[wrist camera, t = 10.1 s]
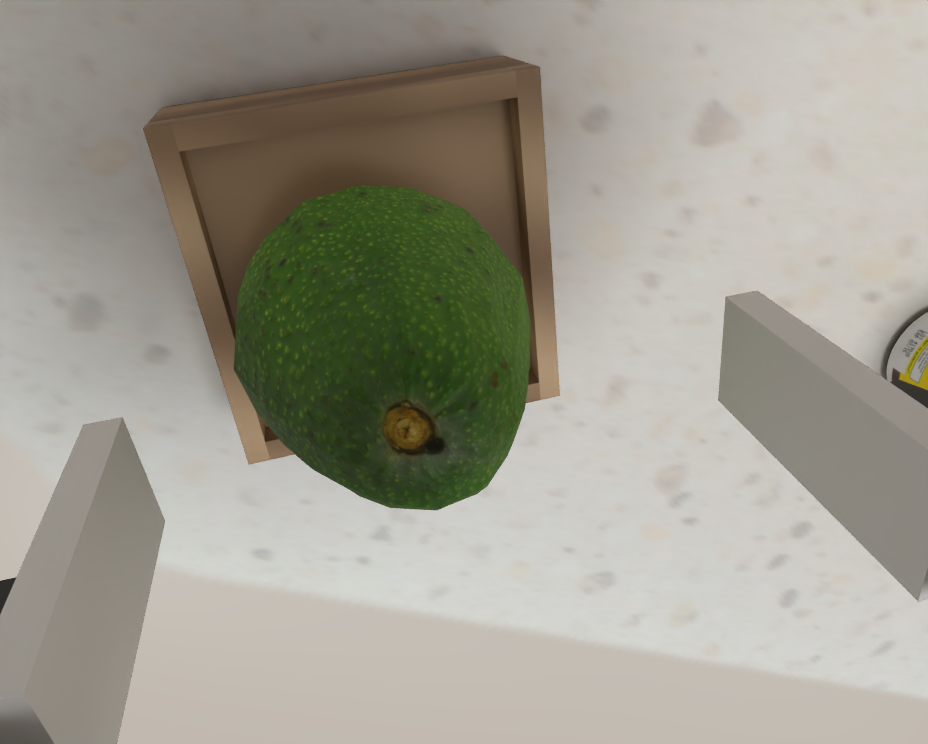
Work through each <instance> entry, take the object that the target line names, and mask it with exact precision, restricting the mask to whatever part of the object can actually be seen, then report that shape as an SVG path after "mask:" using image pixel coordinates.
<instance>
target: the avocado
mask: <svg viewBox="0 0 928 744" xmlns="http://www.w3.org/2000/svg"><path fill="white" fill-rule="evenodd" d="M530 326H531V321H530V316H529V310H528V305H527V300H526V294H525V289H524V284H523V278H522V276H521V275H520V273H519V272H518V271H517V269H516V268H515V267H514V266H513V264H512V263H511V262H510V260H509V259H508V258H507V257H506V255H505V254H504V253H503V251H502V250H501V249H500V248H499V246H498V245H497V244H496V242H495V241H494V240H493V239H492V237H491V236H490V235H489V234H488V232H487V231H486V230H485V229H484V228H483V226H482V225H481V224H480V223H479V222H478V220H477V219H475V218H474V217H473V216H472V215H471V214H470V213H469V212H468V211H467V210H465V209H464V208H462V207H459V206H457V205H455V204H453V203H451V202H448V201H446V200H443V199H440V198H437V197H435V196H432V195H429V194H426V193H424V192H421V191H418V190H416V189H413V188H402V187H386V186H371V185H357V186H354V187H350V188H347V189H344V190H340V191H337V192H333V193H330V194H327V195H323V196H320V197H316V198H313V199H310V200H306V201H303V202H302V203H301V204H300V205H299V206H298V207H297V208H296V209H294V210H293V211H292V212H291V213H290V214H289V215H288V216H287V217H286V218H285V219H284V220H283V221H282V222H281V223H280V224H279V225H278V226H277V227H276V228H274V229H273V230H272V231H271V232H270V233H269V234H268V235H267V236H266V238H265V239H264V241H263V242H262V243H261V245H260V246H259V248H258V249H257V251H256V252H255V254H254V256H253V257H252V259H251V261H250V262H249V264H248V267H247V270H246V273H245V276H244V279H243V282H242V285H241V288H240V291H239V294H238V302H237V320H236V338H235V356H234V371H235V373H236V375H237V377H238V378H239V380H240V382H241V384H242V386H243V388H244V390H245V392H246V393H247V395H248V397H249V399H250V401H251V403H252V405H253V407H254V408H255V410H256V412H257V413H258V414H259V415H260V417H261V418H262V419H263V420H264V421H265V423H266V424H267V425H268V426H269V428H270V429H271V430H272V431H273V432H274V434H275V435H276V436H277V437H278V438H279V440H280V441H281V442H282V443H283V444H284V445H285V446H286V447H287V448H288V449H289V450H291V451H292V452H293V453H294V454H295V455H296V456H298V457H299V458H300V459H301V460H302V461H304V462H305V463H306V464H307V465H308V466H310V467H311V468H312V469H313V470H315V471H317V472H319V473H320V474H322V475H324V476H326V477H328V478H329V479H331V480H333V481H335V482H337V483H338V484H340V485H342V486H344V487H346V488H348V489H349V490H351V491H352V492H354V493H356V494H357V495H359V496H361V497H363V498H366V499H368V500H371V501H374V502H376V503H379V504H382V505H384V506H387V507H390V508H404V509H422V510H439V509H441V508H443V507H445V506H448V505H450V504H453V503H455V502H458V501H460V500H463V499H465V498H468V497H470V496H473V495H475V494H477V493H479V492H480V491H481V490H483V489H484V488H485V487H487V486H488V484H489V483H490V481H491V480H492V478H493V477H494V475H495V474H496V472H497V471H498V469H499V468H500V466H501V465H502V463H503V461H504V460H505V458H506V457H507V455H508V453H509V450H510V448H511V446H512V444H513V441H514V438H515V435H516V432H517V430H518V427H519V424H520V421H521V418H522V415H523V412H524V409H525V403H526V397H527V391H528V376H529V357H530Z"/></svg>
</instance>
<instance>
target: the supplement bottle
mask: <svg viewBox="0 0 928 744" xmlns="http://www.w3.org/2000/svg"><path fill="white" fill-rule="evenodd" d="M895 380H902V381H904V382H907V383H910V384H912V385H915V386H918V387H920V388H923V389H926V390H928V312H927V313H925V314H924V315H922V316H921V317H919V318H918V319H917V320H915V321H914V322H913V323H912V324H911V325H910V326H909V327H908V328H907V329H906V330H905V331H904V332H903V333H902V335H901V336H900V337H899V339H898V340H897V342H896V344H895V345H894V347H893V349H892V352H891V354H890V357H889V360H888V364H887V381H889V382H891V381H895Z"/></svg>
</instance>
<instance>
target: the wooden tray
mask: <svg viewBox="0 0 928 744" xmlns="http://www.w3.org/2000/svg"><path fill="white" fill-rule="evenodd" d="M143 130H144V133H145V136H146V139H147V143H148V146H149V149H150V152H151V155H152V159H153V162H154V165H155V168H156V171H157V174H158V178H159V181H160V184H161V187H162V190H163V193H164V197H165V200H166V203H167V206H168V209H169V213H170V216H171V219H172V222H173V225H174V228H175V232H176V235H177V238H178V241H179V244H180V247H181V251H182V254H183V257H184V260H185V263H186V267H187V270H188V273H189V276H190V279H191V282H192V286H193V289H194V292H195V295H196V298H197V301H198V305H199V308H200V311H201V314H202V317H203V321H204V324H205V327H206V330H207V333H208V336H209V340H210V343H211V346H212V349H213V352H214V355H215V359H216V362H217V365H218V368H219V371H220V375H221V378H222V381H223V384H224V387H225V390H226V394H227V397H228V400H229V403H230V406H231V409H232V413H233V416H234V419H235V422H236V425H237V428H238V432H239V435H240V438H241V441H242V444H243V448H244V451H245V454H246V457H247V460H248V463H249V464H253V463H257V462H262V461H267V460H271V459H276V458H280V457H285V456H289V455H294V453H293V452H292V451H291V450H289V449H288V448H287V447H286V446H285V445H284V444H283V443H282V442H281V441H280V440H279V438H278V437H277V436H276V435H275V434H274V432H273V431H272V430H271V429H270V428H269V426H268V425H267V424H266V423H265V421H264V420H263V419H262V418H261V417H260V415H259V414H258V413H257V412H256V410H255V408H254V407H253V405H252V403H251V401H250V399H249V397H248V395H247V393H246V392H245V390H244V388H243V386H242V384H241V382H240V380H239V378H238V377H237V375H236V373H235V371H234V356H235V338H236V320H237V302H238V294H239V291H240V288H241V285H242V282H243V279H244V276H245V273H246V270H247V267H248V264H249V262H250V261H251V259H252V257H253V256H254V254H255V252H256V251H257V249H258V248H259V246H260V245H261V243H262V242H263V241H264V239H265V238H266V236H267V235H268V234H269V233H270V232H271V231H272V230H273V229H274V228H276V227H277V226H278V225H279V224H280V223H281V222H282V221H283V220H284V219H285V218H286V217H287V216H288V215H289V214H290V213H291V212H292V211H293V210H294V209H296V208H297V207H298V206H299V205H300V204H301V203H302V202H303V201H306V200H310V199H313V198H316V197H320V196H323V195H327V194H330V193H333V192H337V191H340V190H344V189H347V188H350V187H354V186H357V185H371V186H386V187H402V188H413V189H416V190H418V191H421V192H424V193H426V194H429V195H432V196H435V197H437V198H440V199H443V200H446V201H448V202H451V203H453V204H455V205H457V206H459V207H462V208H464V209H465V210H467V211H468V212H469V213H470V214H471V215H472V216H473V217H474V218H475V219H477V220H478V222H479V223H480V224H481V225H482V226H483V228H484V229H485V230H486V231H487V232H488V234H489V235H490V236H491V237H492V239H493V240H494V241H495V242H496V244H497V245H498V246H499V248H500V249H501V250H502V251H503V253H504V254H505V255H506V257H507V258H508V259H509V260H510V262H511V263H512V264H513V266H514V267H515V268H516V269H517V271H518V272H519V273H520V275H521V276H522V278H523V284H524V289H525V294H526V300H527V305H528V310H529V316H530V321H531V326H530V357H529V376H528V391H527V397H526V403H529V402H533V401H538V400H542V399H547V398H551V397H556V396H560V391H559V375H558V358H557V342H556V326H555V309H554V293H553V277H552V260H551V244H550V228H549V211H548V195H547V178H546V162H545V146H544V129H543V113H542V97H541V80H540V67H538V66H535V65H532V64H528V63H525V62H522V61H519V60H516V59H512V58H509V57H506V56H499V57H493V58H486V59H479V60H473V61H466V62H460V63H453V64H446V65H440V66H433V67H427V68H420V69H414V70H407V71H400V72H394V73H387V74H381V75H374V76H368V77H361V78H354V79H348V80H341V81H335V82H328V83H321V84H315V85H308V86H302V87H295V88H289V89H282V90H275V91H269V92H262V93H256V94H249V95H243V96H236V97H229V98H223V99H216V100H210V101H203V102H196V103H190V104H183V105H177V106H170V107H164V108H161V109H160V110H159V112H158V113H157V114H156V115H155V116H154V117H153V118H152V119H151V120H150V122H149V123H148V124H147V125H146V126H145V127H144V128H143Z"/></svg>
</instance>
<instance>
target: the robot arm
mask: <svg viewBox="0 0 928 744" xmlns="http://www.w3.org/2000/svg"><path fill="white" fill-rule="evenodd" d="M718 400H719V401H720V402H721V403H722V404H723V406H724V407H725V408H726V409H727V410H728V411H729V412H730V413H731V414H732V415H733V416H734V417H735V418H736V419H737V420H738V421H739V422H740V423H741V424H742V425H743V426H744V427H745V428H746V429H747V430H748V431H749V432H750V433H751V434H752V435H753V436H754V437H755V438H756V439H757V440H758V441H759V442H760V443H761V444H762V445H763V446H764V447H765V448H766V449H767V450H768V451H769V452H770V453H771V454H772V455H773V456H774V457H775V458H776V459H777V460H778V461H779V462H780V463H781V464H782V465H783V466H784V467H785V468H786V469H787V470H788V471H789V472H790V473H791V474H792V475H793V476H794V477H795V478H796V479H797V480H798V481H799V482H800V483H801V484H802V485H803V486H804V487H805V488H806V489H807V490H808V491H809V492H810V493H811V494H812V495H813V496H814V497H815V498H816V499H817V500H818V501H819V502H820V503H821V504H822V505H823V506H824V507H825V508H826V509H827V510H828V511H829V512H830V513H831V514H832V515H833V516H834V517H835V518H836V519H837V520H838V521H839V522H840V523H841V524H842V525H843V526H844V527H845V528H846V529H847V530H848V531H849V532H850V533H851V534H852V535H853V536H854V537H855V538H856V539H857V540H858V541H859V542H860V543H861V544H862V545H863V546H864V547H865V548H866V550H867V551H868V552H869V553H870V554H871V555H872V556H873V557H874V558H875V559H876V560H877V561H878V562H879V563H880V564H881V565H882V566H883V567H884V568H885V569H886V570H887V571H888V572H889V573H890V574H891V575H892V576H893V577H894V578H895V579H896V580H897V581H898V582H899V583H900V584H901V585H902V586H903V587H904V588H905V589H906V590H907V591H908V592H909V593H910V594H911V595H912V596H913V597H914V598H915V599H916V600H917V601H918V602H919V601H922V600H926V599H928V390H926V389H923V388H920V387H918V386H915V385H912V384H910V383H907V382H904V381H902V380H895V381H891V382H889V381H887V380H886V379H884V378H883V377H882V376H880V375H879V374H877V373H876V372H874V371H873V370H871V369H870V368H869V367H867V366H866V365H864V364H863V363H861V362H860V361H858V360H857V359H855V358H854V357H853V356H851V355H850V354H848V353H847V352H845V351H844V350H842V349H841V348H840V347H838V346H837V345H835V344H834V343H832V342H831V341H829V340H828V339H827V338H825V337H824V336H822V335H821V334H819V333H818V332H816V331H815V330H814V329H812V328H811V327H809V326H808V325H806V324H805V323H803V322H802V321H801V320H799V319H798V318H796V317H795V316H793V315H792V314H790V313H789V312H788V311H786V310H785V309H783V308H782V307H780V306H779V305H777V304H776V303H775V302H773V301H772V300H770V299H769V298H767V297H766V296H764V295H763V294H762V293H760V292H759V291H752V292H747V293H742V294H737V295H732V296H727V297H726V299H725V313H724V327H723V341H722V355H721V369H720V383H719V397H718ZM164 523H165V520H164V517H163V515H162V512H161V510H160V507H159V505H158V503H157V500H156V498H155V495H154V493H153V490H152V488H151V485H150V483H149V481H148V478H147V476H146V473H145V471H144V468H143V466H142V464H141V461H140V459H139V456H138V454H137V451H136V449H135V446H134V444H133V442H132V439H131V437H130V434H129V432H128V429H127V427H126V424H125V422H124V420H123V417H121V418H116V419H111V420H106V421H101V422H96V423H91V424H86V425H83V427H82V429H81V431H80V433H79V436H78V438H77V440H76V443H75V445H74V447H73V449H72V452H71V454H70V456H69V459H68V461H67V463H66V465H65V468H64V470H63V472H62V475H61V477H60V479H59V481H58V484H57V486H56V488H55V491H54V493H53V495H52V497H51V500H50V502H49V504H48V507H47V509H46V511H45V513H44V516H43V518H42V521H41V523H40V525H39V527H38V530H37V532H36V535H35V537H34V539H33V541H32V544H31V546H30V548H29V550H28V552H27V555H26V557H25V559H24V561H23V564H22V566H21V569H20V571H19V573H18V575H17V577H16V578H12V579H7V580H2V581H0V744H117V742H118V736H119V732H120V727H121V723H122V718H123V714H124V709H125V704H126V700H127V695H128V690H129V686H130V681H131V677H132V672H133V667H134V663H135V658H136V653H137V649H138V644H139V639H140V634H141V630H142V625H143V620H144V616H145V611H146V607H147V602H148V597H149V593H150V588H151V584H152V579H153V574H154V570H155V565H156V560H157V556H158V551H159V547H160V542H161V537H162V533H163V528H164Z"/></svg>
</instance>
